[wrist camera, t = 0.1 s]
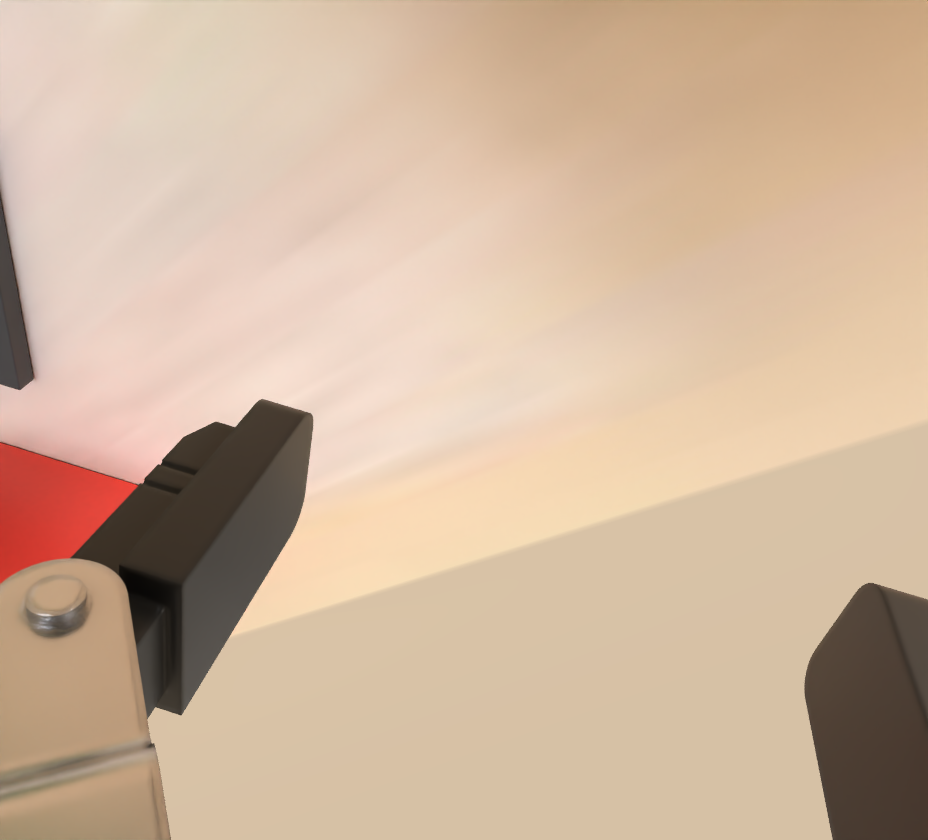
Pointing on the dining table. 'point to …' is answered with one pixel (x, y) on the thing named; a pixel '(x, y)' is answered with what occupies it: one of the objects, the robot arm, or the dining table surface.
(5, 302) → the dish rack
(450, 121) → the dining table surface
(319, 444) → the dining table surface
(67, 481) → the red rectangular block
